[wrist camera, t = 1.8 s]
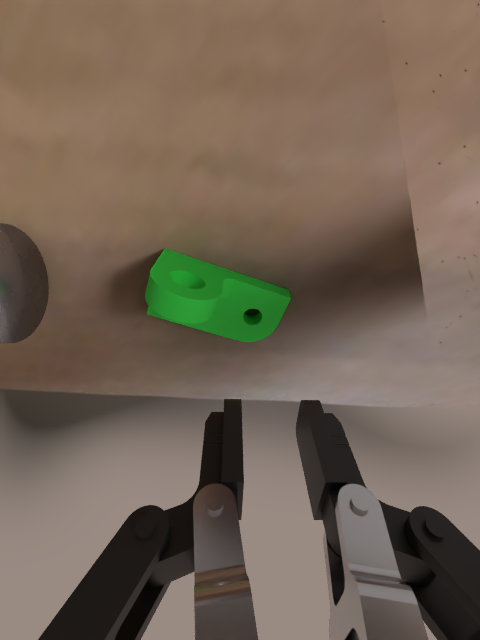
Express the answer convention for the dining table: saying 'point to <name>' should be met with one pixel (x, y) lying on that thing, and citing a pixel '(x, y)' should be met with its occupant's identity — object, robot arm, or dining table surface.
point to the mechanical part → (213, 298)
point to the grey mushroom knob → (20, 285)
